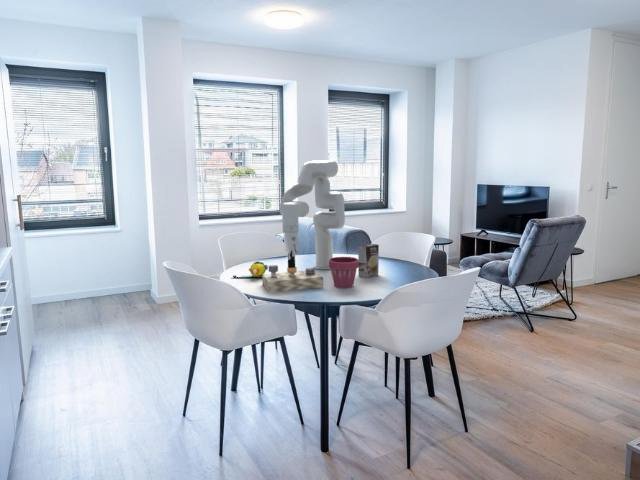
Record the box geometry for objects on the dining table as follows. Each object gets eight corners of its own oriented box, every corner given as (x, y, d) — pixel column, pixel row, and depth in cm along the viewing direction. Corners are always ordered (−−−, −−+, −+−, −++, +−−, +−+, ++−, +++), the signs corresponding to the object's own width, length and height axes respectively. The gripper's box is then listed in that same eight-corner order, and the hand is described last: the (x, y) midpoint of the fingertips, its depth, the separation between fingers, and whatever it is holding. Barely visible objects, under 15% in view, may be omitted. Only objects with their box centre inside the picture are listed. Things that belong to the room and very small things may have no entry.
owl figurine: (227, 264, 243) (235, 259, 258) (227, 280, 244) (236, 274, 259) (281, 264, 240) (286, 259, 255) (281, 281, 241) (287, 275, 256)
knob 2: (313, 279, 234) (313, 267, 233) (316, 281, 230) (315, 269, 229) (304, 280, 233) (304, 268, 232) (307, 282, 229) (306, 270, 228)
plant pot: (363, 287, 223) (363, 260, 221) (334, 290, 219) (334, 263, 217) (352, 281, 236) (352, 255, 234) (325, 283, 232) (324, 257, 230)
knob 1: (277, 276, 229) (276, 264, 228) (279, 278, 224) (278, 266, 224) (268, 277, 227) (267, 265, 226) (270, 279, 223) (269, 267, 222)
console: (313, 279, 241) (313, 270, 240) (323, 287, 225) (323, 276, 225) (262, 284, 233) (262, 274, 232) (269, 292, 218) (268, 281, 217)
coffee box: (367, 278, 242) (367, 246, 239) (358, 276, 246) (357, 245, 244) (379, 275, 248) (378, 244, 246) (369, 273, 252) (369, 243, 250)
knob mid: (295, 277, 231) (295, 266, 231) (297, 279, 227) (297, 267, 226) (286, 278, 230) (286, 266, 229) (288, 280, 226) (288, 268, 225)
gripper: (302, 230, 219) (303, 269, 222) (294, 227, 233) (295, 264, 236) (286, 231, 217) (287, 270, 219) (279, 227, 231) (280, 265, 234)
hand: (291, 267), depth 228 cm, fingers closed
